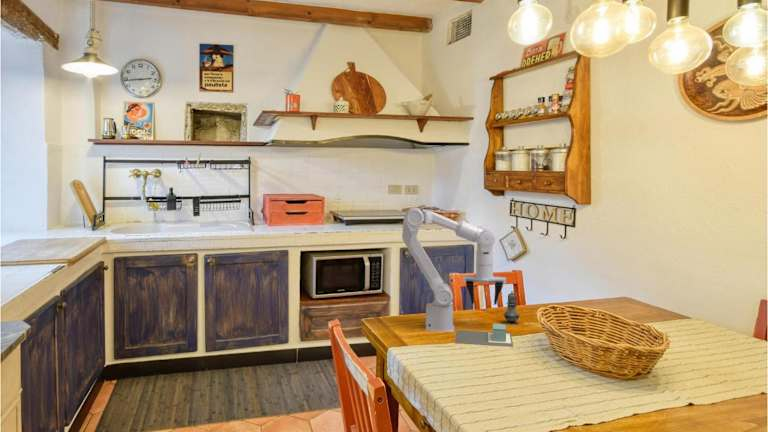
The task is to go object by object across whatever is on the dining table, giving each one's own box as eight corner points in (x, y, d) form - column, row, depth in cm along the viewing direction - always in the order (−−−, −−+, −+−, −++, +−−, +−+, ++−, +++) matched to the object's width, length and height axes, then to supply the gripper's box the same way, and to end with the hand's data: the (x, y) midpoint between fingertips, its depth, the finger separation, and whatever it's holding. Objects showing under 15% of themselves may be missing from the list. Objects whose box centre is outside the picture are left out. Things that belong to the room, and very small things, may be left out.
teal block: (492, 333, 165) (492, 323, 165) (505, 334, 164) (505, 324, 164) (492, 341, 157) (493, 330, 157) (505, 342, 157) (506, 331, 156)
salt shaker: (513, 326, 175) (513, 293, 175) (499, 323, 180) (500, 290, 179) (523, 323, 179) (523, 291, 178) (509, 320, 184) (510, 288, 183)
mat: (454, 344, 156) (454, 342, 156) (456, 331, 170) (456, 329, 169) (513, 348, 152) (513, 346, 152) (510, 335, 166) (510, 332, 166)
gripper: (462, 265, 168) (462, 305, 168) (506, 267, 165) (506, 307, 166) (463, 262, 174) (463, 300, 175) (505, 263, 172) (505, 302, 173)
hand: (483, 303), depth 171 cm, fingers open, 7 cm apart
